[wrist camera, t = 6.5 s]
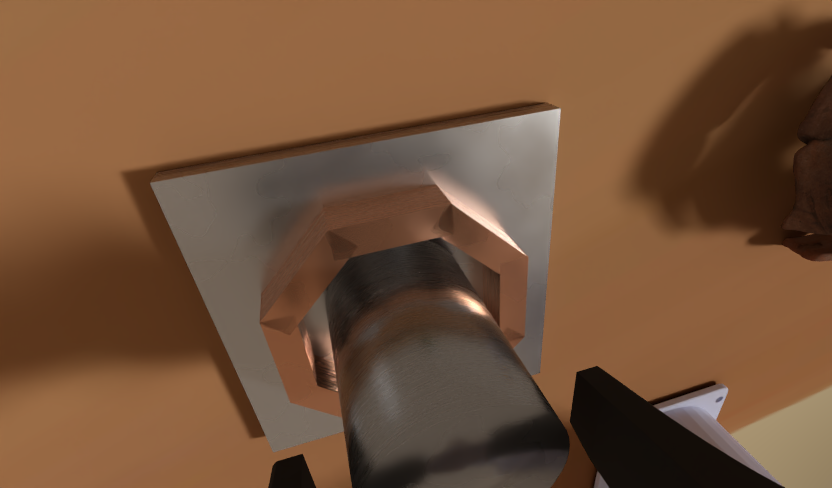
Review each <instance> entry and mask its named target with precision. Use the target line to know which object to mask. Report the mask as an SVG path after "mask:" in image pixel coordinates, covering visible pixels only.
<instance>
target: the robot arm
mask: <svg viewBox="0 0 832 488" xmlns="http://www.w3.org/2000/svg"><path fill="white" fill-rule="evenodd" d="M727 393H728V388H727V387H726V386H725V385H724V384H717V385H714V386H710V387H707V388H704V389H701V390H698V391H695V392H692V393H689V394H686V395H683V396H680V397H677V398H674V399H671V400H668V401H665V402H662V403H659V404H656V405H651V404H650V403H649V402H647V401H646V400H644V399H643V398H642V397H640V396H639V395H637V394H636V393H635V392H633V391H632V390H630V389H629V388H628V387H626V386H625V385H623V384H622V383H621V382H619V381H618V380H616V379H615V378H614V377H612V376H611V375H609V374H608V373H607V372H605V371H604V370H602V369H601V368H599V367H598V366H596V367H592V368H589V369H586V370H582V371H579V372H577V374H576V381H575V388H574V396H573V403H572V410H571V417H570V423H571V425H572V426H573V428H574V430H575V432H576V434H577V436H578V438H579V440H580V442H581V444H582V446H583V447H584V449H585V451H586V453H587V455H588V456H589V458H590V460H591V461H592V463H593V464H594V466H595V467H596V469H597V470H598V471H597V475H596V480H595V485H594V488H785V487H783V486H782V485H781V484H780V483H779V482H778V481H777V480H776V479H775V478H774V477H773V476H772V475H771V474H770V473H769V472H768V471H767V470H766V469H765V468H764V467H763V466H762V465H761V464H760V463H759V462H758V461H757V460H756V459H755V458H754V457H753V456H752V455H750V453H749V452H748V451H747V450H746V449H745V448H744V447H743V446H741V445H740V444H739V443H738V442H737V441H736V440H735V439H734V438H733V437H732V436H731V435H730V434H729V433H728V432H727V431H726V430H725V429H724V428H723V427H722V426H721V425H720V424H719V423H718V422H717V421H716V419H717V416H718V414H719V412H720V409H721V407H722V405H723V402H724V400H725V398H726V395H727ZM268 488H316V486H315V484H314V481H313V479H312V476H311V474H310V471H309V469H308V466H307V464H306V461H305V459H304V456H303V454H300V455H297V456H294V457H290V458H287V459H283V460H280V461H277V462H276V463H275V464H274V465H273V468H272V473H271V478H270V483H269V487H268Z"/></svg>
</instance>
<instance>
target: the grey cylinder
mask: <svg viewBox="0 0 832 488" xmlns="http://www.w3.org/2000/svg"><path fill="white" fill-rule="evenodd" d="M326 312H327V319H328V325H329V332H330V339H331V346H332V353H333V359H334V366H335V373H336V380H337V387H338V393H339V400H340V407H341V414H342V420H343V427H344V434H345V441H346V448H347V454H348V461H349V468H350V475H351V482H352V488H550V487H551V486H552V485H553V483H554V482H555V481H556V480H557V478H558V476H559V475H560V473H561V472H562V470H563V468H564V466H565V464H566V461H567V458H568V454H569V447H570V444H569V436H568V433H567V430H566V429H565V427H564V426H563V424H562V422H561V421H560V419H559V418H558V416H557V415H556V413H555V412H554V410H553V409H552V407H551V406H550V404H549V403H548V401H547V399H546V398H545V396H544V395H543V393H542V392H541V390H540V389H539V387H538V386H537V384H536V383H535V381H534V380H533V378H532V376H531V375H530V373H529V372H528V370H527V369H526V367H525V366H524V364H523V363H522V361H521V360H520V358H519V357H518V355H517V354H516V352H515V350H514V349H513V347H512V346H511V344H510V343H509V341H508V340H507V338H506V337H505V335H504V334H503V332H502V331H501V329H500V327H499V326H498V324H497V323H496V321H495V320H494V318H493V317H492V315H491V314H490V312H489V311H488V309H487V308H486V306H485V304H484V303H483V301H482V300H481V298H480V297H479V295H478V294H477V292H476V291H475V289H474V288H473V286H472V285H471V283H470V281H469V280H468V278H467V277H466V275H465V274H464V272H463V271H462V269H461V268H460V266H459V265H458V263H457V262H456V260H455V258H454V257H453V256H452V255H451V254H450V253H449V252H448V251H447V250H446V249H445V248H443V247H442V246H440V245H438V244H437V243H434V242H432V241H429V240H425V241H421V242H417V243H412V244H408V245H403V246H399V247H395V248H390V249H386V250H381V251H377V252H373V253H368V254H364V255H359V256H355V257H351V258H349V259H348V260H347V262H346V263H345V264H344V266H343V267H342V268H341V269H340V271H339V272H338V273H337V275H336V276H335V277H334V279H333V280H332V281H331V283H330V285H329V288H328V291H327V296H326Z"/></svg>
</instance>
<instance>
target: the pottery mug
mask: <svg viewBox="0 0 832 488" xmlns="http://www.w3.org/2000/svg"><path fill="white" fill-rule="evenodd" d="M797 136H798V138H799V139H800V140H801V141H802V142H804V143H805V144H807V145H806V146H804V147H803V148H801V149H800V150H798V151H797V152H796V153H795V155H794V164H793V172H794V175H795V188H796V201H795V205H794V207H793V210H792V211H791V213H790V214H789V215H788V216H787V217H786V218H785V219H784V221H783V224H782V226H781V228H782V229H785V230H797V231H802V232H807V233H814V234H811V235H807V236H803V237H794V238H786V239H785V240H784V241H783V243H782V245H784V246H785V247H788V248H789V249H791V250H792V251H794V252H795V253H797V254H799V255H801V256H802V257H803V258H805V259H808V260H811V261H831V260H832V77H831V78H830V80H829V81H828V83H827V84H826V85H825V86H824V88H823V89H822V90H821V92H820V93H819V95H818V97H817V98H816V99H815V101H814V102H813V104H812V106H811V108H810V110H809V113H808V114H807V116H806V117H805V119H804V120H803V122H802V123H801V124H800V126H799V129H798V133H797Z"/></svg>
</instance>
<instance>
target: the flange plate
mask: <svg viewBox="0 0 832 488" xmlns="http://www.w3.org/2000/svg"><path fill="white" fill-rule="evenodd" d="M560 111H561V108H559V107H556V106H554V105H552V104H549V103H543V104H538V105H532V106H527V107H521V108H515V109H510V110H504V111H499V112H493V113H487V114H482V115H476V116H470V117H465V118H459V119H454V120H448V121H442V122H437V123H431V124H426V125H420V126H414V127H409V128H403V129H397V130H392V131H386V132H381V133H375V134H369V135H364V136H358V137H352V138H347V139H341V140H336V141H330V142H324V143H319V144H313V145H308V146H302V147H296V148H291V149H285V150H279V151H274V152H268V153H263V154H257V155H251V156H246V157H240V158H235V159H229V160H223V161H218V162H212V163H206V164H201V165H195V166H190V167H184V168H178V169H173V170H167V171H162V172H157V173H156V174H155V176H154V177H153V179H152V180H151V182H150V185H151V187H152V189H153V191H154V193H155V195H156V198H157V200H158V202H159V204H160V206H161V209H162V211H163V213H164V215H165V217H166V219H167V222H168V224H169V226H170V228H171V230H172V233H173V235H174V237H175V239H176V241H177V243H178V246H179V248H180V250H181V252H182V254H183V257H184V259H185V261H186V263H187V265H188V267H189V270H190V272H191V274H192V276H193V278H194V281H195V283H196V285H197V287H198V289H199V291H200V294H201V296H202V298H203V300H204V302H205V305H206V307H207V309H208V311H209V313H210V315H211V318H212V320H213V322H214V324H215V326H216V328H217V331H218V333H219V335H220V337H221V339H222V342H223V344H224V346H225V348H226V350H227V352H228V355H229V357H230V359H231V361H232V363H233V366H234V368H235V370H236V372H237V374H238V376H239V379H240V381H241V383H242V385H243V387H244V390H245V392H246V394H247V396H248V398H249V400H250V403H251V405H252V407H253V409H254V411H255V414H256V416H257V418H258V420H259V422H260V424H261V427H262V429H263V431H264V433H265V435H266V438H267V440H268V442H269V444H270V446H271V448H272V451H273V452H276V451H280V450H283V449H286V448H290V447H293V446H296V445H300V444H303V443H306V442H310V441H313V440H316V439H320V438H323V437H326V436H330V435H333V434H337V433H340V432H343V431H344V427H343V420H342V414H341V407H340V400H339V393H338V387H337V380H336V373H335V366H334V359H333V353H332V346H331V339H330V332H329V325H328V319H327V312H326V296H327V291H328V288H329V285H330V283H331V281H332V280H333V279H334V277H335V276H336V275H337V273H338V272H339V271H340V269H341V268H342V267H343V266H344V264H345V263H346V262H347V260H348V259H349V258H351V257H355V256H359V255H364V254H368V253H373V252H377V251H381V250H386V249H390V248H395V247H399V246H403V245H408V244H412V243H417V242H421V241H425V240H429V241H432V242H434V243H437V244H438V245H440V246H442V247H443V248H445V249H446V250H447V251H448V252H449V253H450V254H451V255H452V256H453V257H454V258H455V260H456V262H457V263H458V265H459V266H460V268H461V269H462V271H463V272H464V274H465V275H466V277H467V278H468V280H469V281H470V283H471V285H472V286H473V288H474V289H475V291H476V292H477V294H478V295H479V297H480V298H481V300H482V301H483V303H484V304H485V306H486V308H487V309H488V311H489V312H490V314H491V315H492V317H493V318H494V320H495V321H496V323H497V324H498V326H499V327H500V329H501V331H502V332H503V334H504V335H505V337H506V338H507V340H508V341H509V343H510V344H511V346H512V347H513V349H514V350H515V352H516V354H517V355H518V357H519V358H520V360H521V361H522V363H523V364H524V366H525V367H526V369H527V370H528V372H529V373H530V375H534V374H538V373H540V363H541V351H542V338H543V326H544V313H545V300H546V288H547V275H548V263H549V250H550V237H551V225H552V212H553V199H554V187H555V174H556V162H557V149H558V136H559V124H560Z"/></svg>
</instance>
